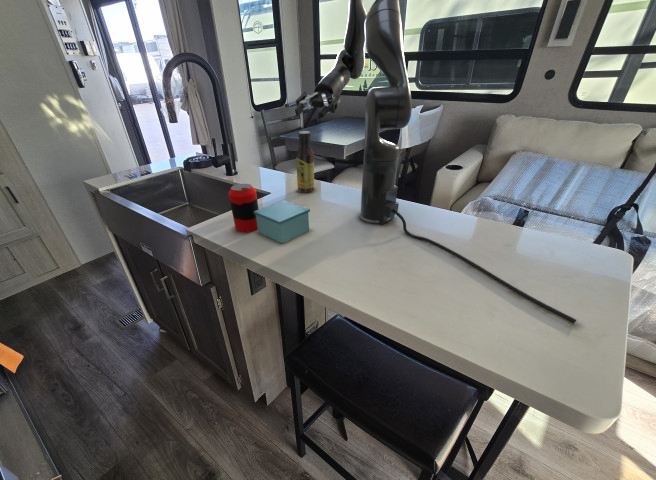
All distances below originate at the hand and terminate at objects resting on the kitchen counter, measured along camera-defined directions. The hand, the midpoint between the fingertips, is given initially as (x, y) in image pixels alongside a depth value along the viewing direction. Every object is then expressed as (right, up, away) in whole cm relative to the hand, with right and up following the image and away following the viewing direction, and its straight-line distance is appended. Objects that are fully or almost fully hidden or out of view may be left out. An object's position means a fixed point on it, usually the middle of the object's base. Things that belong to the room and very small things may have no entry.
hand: (307, 114), depth 100 cm
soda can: (-18, -38, -7) cm, 43 cm away
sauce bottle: (-1, -19, +17) cm, 25 cm away
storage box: (-7, -40, -11) cm, 42 cm away
